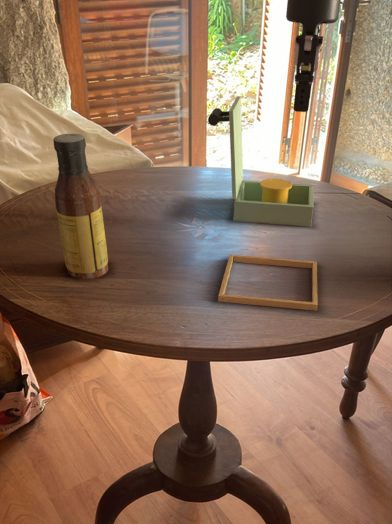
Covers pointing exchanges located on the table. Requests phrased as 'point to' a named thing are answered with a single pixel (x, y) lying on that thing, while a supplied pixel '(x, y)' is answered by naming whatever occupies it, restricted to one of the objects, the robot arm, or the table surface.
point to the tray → (268, 301)
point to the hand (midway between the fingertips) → (301, 105)
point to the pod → (275, 190)
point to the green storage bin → (274, 206)
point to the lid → (232, 140)
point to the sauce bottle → (79, 210)
